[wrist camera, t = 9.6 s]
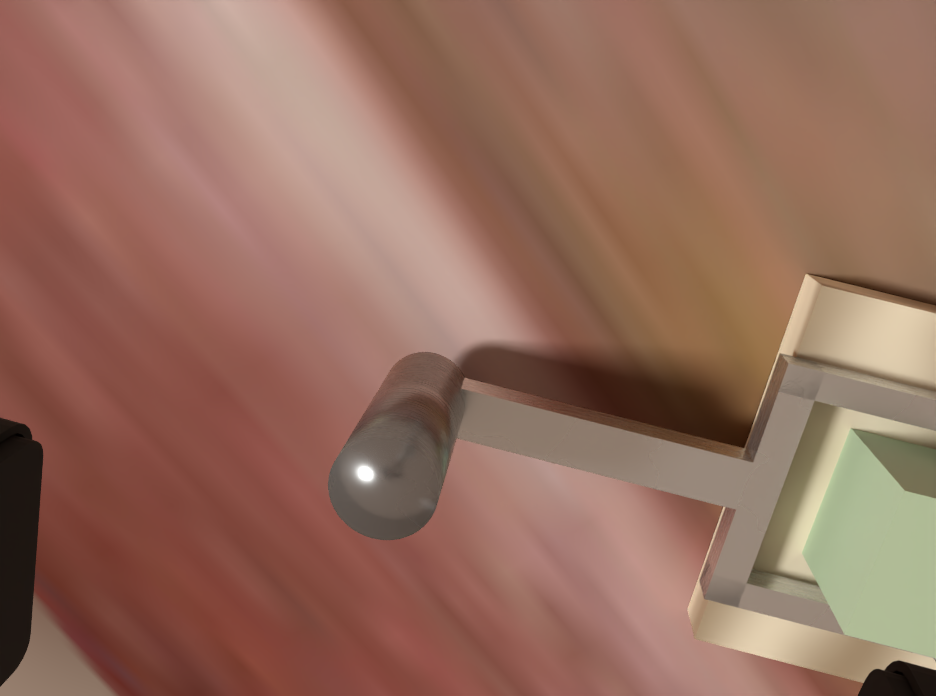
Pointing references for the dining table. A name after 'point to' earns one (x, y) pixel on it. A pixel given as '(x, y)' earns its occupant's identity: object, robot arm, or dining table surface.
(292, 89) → the dining table surface
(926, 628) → the block
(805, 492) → the tunnel
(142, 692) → the dining table surface
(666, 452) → the slider
